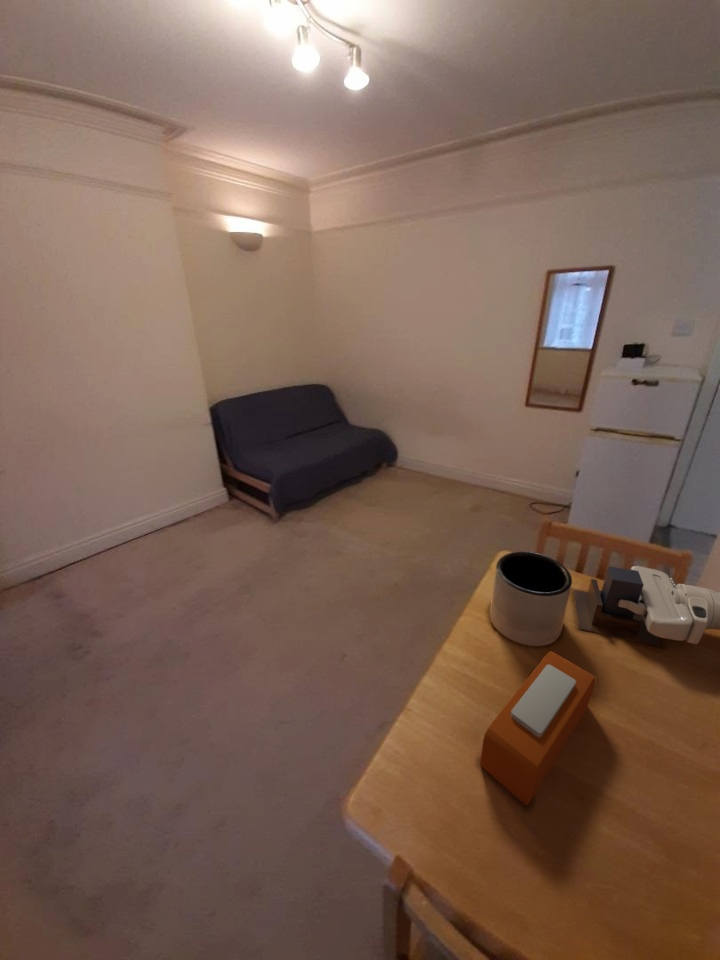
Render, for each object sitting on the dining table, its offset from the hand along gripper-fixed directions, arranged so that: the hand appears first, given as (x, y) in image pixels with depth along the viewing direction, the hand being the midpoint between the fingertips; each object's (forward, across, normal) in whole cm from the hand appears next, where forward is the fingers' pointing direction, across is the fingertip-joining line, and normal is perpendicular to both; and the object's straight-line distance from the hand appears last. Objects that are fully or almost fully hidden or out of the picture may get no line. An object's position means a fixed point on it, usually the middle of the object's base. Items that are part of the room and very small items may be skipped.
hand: (615, 592), depth 93 cm
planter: (+19, +7, +9) cm, 22 cm away
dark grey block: (-1, 0, +7) cm, 7 cm away
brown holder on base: (-1, 0, +8) cm, 8 cm away
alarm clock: (+17, +36, +9) cm, 40 cm away
